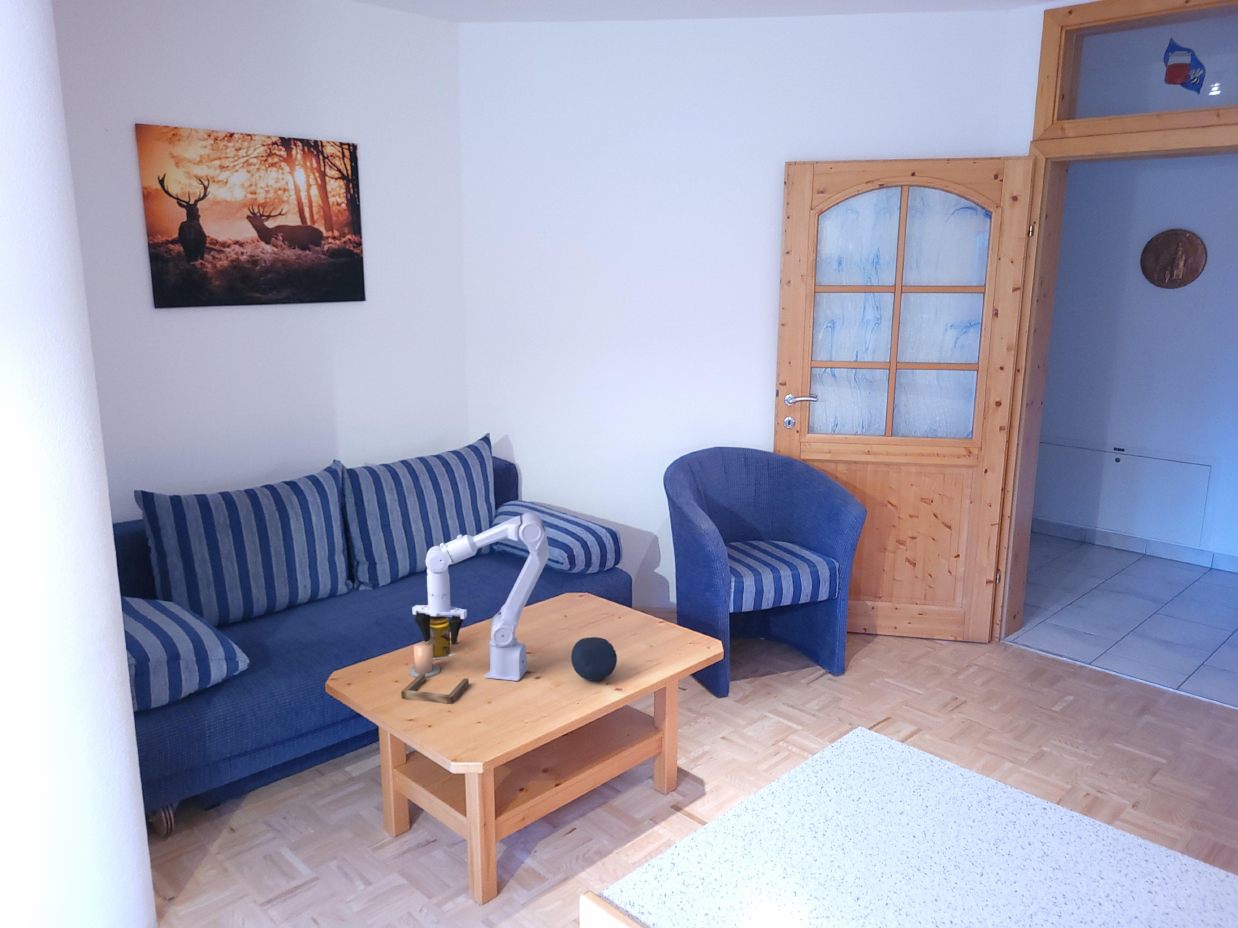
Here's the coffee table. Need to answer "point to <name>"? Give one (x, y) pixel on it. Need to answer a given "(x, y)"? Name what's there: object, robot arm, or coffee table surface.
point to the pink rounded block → (423, 658)
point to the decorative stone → (593, 658)
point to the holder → (432, 697)
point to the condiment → (440, 636)
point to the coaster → (433, 673)
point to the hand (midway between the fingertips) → (440, 641)
